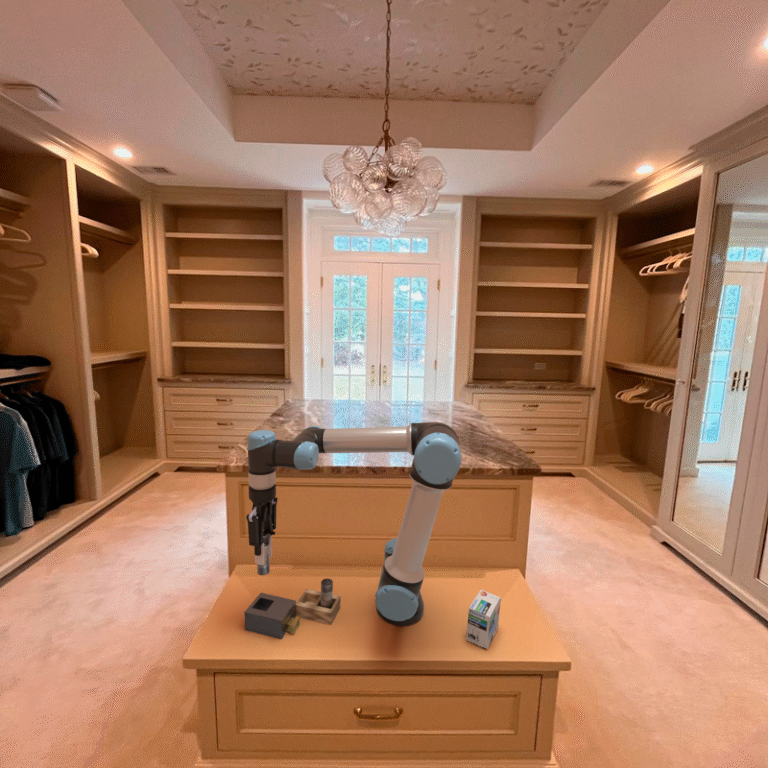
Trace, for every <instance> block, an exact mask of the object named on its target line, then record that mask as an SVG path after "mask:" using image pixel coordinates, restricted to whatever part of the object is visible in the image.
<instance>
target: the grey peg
mask: <svg viewBox="0 0 768 768" xmlns="http://www.w3.org/2000/svg"><path fill="white" fill-rule="evenodd" d="M262 543H264V559H265V564H264V565H259V564H256V573H257V575H259V576H266V575H268V574H270V572H271V569H270V568H271V557H270V533H269V532H267V531H264V530H263V542H262Z"/></svg>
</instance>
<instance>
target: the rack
mask: <svg viewBox="0 0 768 768" xmlns="http://www.w3.org/2000/svg"><path fill="white" fill-rule="evenodd" d="M333 586H334V581H333V579H331V578H323V579H322V580H321V581H320V591H318V590H315V589H314V590H313V589H309V588H306V589H304V591H303V593H302V594H301V596H300V597H299V599H298V600H296V616H297V617H300V619H305V620H309V621H312V622H313V621H314V622H317V623H322V624H326V625H328V626H329V625H330V626H332V624H333V622H334V621H335V619H336V616H337V615H338V613H339V611H340V610H341V607H342V605H341V603H342V601H341V599H342V596H341V595H336V594H333V591H334V588H333Z"/></svg>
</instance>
